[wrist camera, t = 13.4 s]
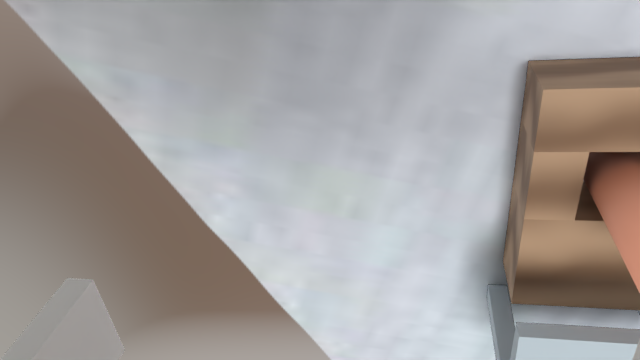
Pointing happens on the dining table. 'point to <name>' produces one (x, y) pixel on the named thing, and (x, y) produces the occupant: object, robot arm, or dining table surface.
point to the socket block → (569, 184)
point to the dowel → (618, 201)
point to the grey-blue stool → (553, 336)
